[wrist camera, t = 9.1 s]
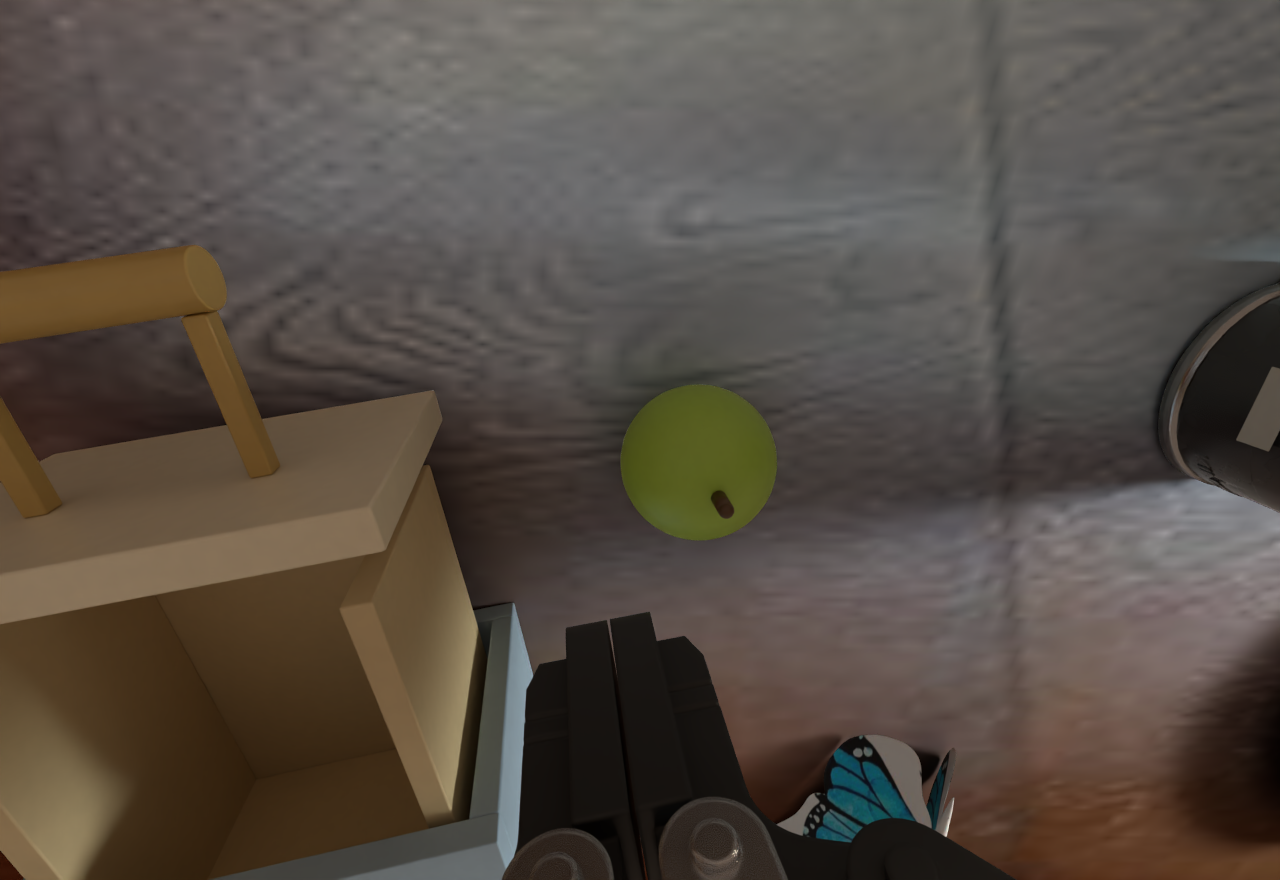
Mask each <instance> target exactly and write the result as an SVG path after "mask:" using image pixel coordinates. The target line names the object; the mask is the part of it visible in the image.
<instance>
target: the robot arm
mask: <svg viewBox="0 0 1280 880" xmlns="http://www.w3.org/2000/svg"><path fill="white" fill-rule="evenodd" d="M1158 433H1159V440H1160V444H1161V447H1162V450H1163V452H1164V454H1165V456H1166V458H1167V459H1168V461H1169V462H1170V463H1171V464H1172V465H1173V466H1174V467H1175V468H1176V469H1177V470H1179V471H1180V472H1182V473H1184V474H1186V475H1188V476H1190V477H1192V478H1195V479H1197V480H1199V481H1202V482H1204V483H1207V484H1210V485H1215V486H1217V487H1219V488H1221V489H1223V490H1225V491H1228V492H1230V493H1233V494H1235V495H1238V496H1241V497H1244V498H1247V499H1249V500H1251V501H1254V502H1256V503H1258V504H1261V505H1263V506H1265V507H1268V508H1270V509H1272V510H1274V511H1277V512H1279V513H1280V282H1279V283H1278V284H1274V285H1271V286H1268V287H1265V288H1262V289H1260V290H1258V291H1255V292H1253V293H1251V294H1249V295H1247V296H1245V297H1244V298H1242V299H1240V300H1239V301H1237V302H1235V303H1234V304H1233V305H1231V306H1230V307H1228V308H1227V309H1225V310H1224V311H1223V312H1222V313H1221V314H1219V315H1218V316H1217V317H1216V318H1215V319H1213V320H1212V321H1211V322H1210V323H1209V324H1208V325H1207V326H1206V327H1205V328H1204V329H1203V330H1202V331H1201V332H1200V333H1199V334H1198V336H1197V337H1196V338H1195V339H1194V340H1193V342H1192V343H1191V344H1190V345H1189V347H1188V348H1187V350H1186V351H1185V352H1184V354H1183V355H1182V357H1181V358H1180V360H1179V362H1178V363H1177V365H1176V367H1175V369H1174V370H1173V372H1172V374H1171V376H1170V379H1169V381H1168V383H1167V385H1166V388H1165V391H1164V394H1163V397H1162V401H1161V405H1160V410H1159V417H1158ZM610 625H611V632H612V640H613V647H614V655H615V662H616V668H615V662H614V657H613V651H612V646H611V640H610V635H609V629H608V624H607V620H604V621H599V622H594V623H588V624H583V625H578V626H573V627H567V628H566V659H564V660H559V661H553V662H548V663H543V664H539V666H538V668H537V670H536V672H535V674H534V676H533V678H532V680H531V682H530V683H529V685H528V687H527V689H526V702H525V722H524V738H523V740H524V746H523V756H522V775H521V793H520V811H519V829H518V841H517V847H516V851H515V854H514V857H513V859H512V860H511V862H510V863H509V865H508V867H507V868H506V870H505V872H504V874H503V877H502V880H646V879H645V871H644V864H643V856H642V850H643V855H644V860H645V865H646V871H647V876H648V880H1016V879H1014V878H1013V877H1011V876H1009V875H1008V874H1006V873H1004V872H1003V871H1001V870H1000V869H998V868H996V867H995V866H993V865H991V864H990V863H988V862H986V861H985V860H983V859H981V858H980V857H978V856H976V855H975V854H973V853H972V852H970V851H968V850H967V849H965V848H963V847H962V846H960V845H958V844H957V843H955V842H953V841H952V840H950V839H949V838H947V837H945V836H944V835H942V834H940V833H939V832H937V831H935V830H933V829H932V828H930V827H928V826H926V825H924V824H921V823H918V822H915V821H912V820H907V819H903V818H885V819H880V820H877V821H873V822H871V823H869V824H867V825H866V826H864V827H863V828H862V829H861V830H859V831H858V833H857V834H856V835H855V837H854V838H853V840H852V842H843V841H835V840H828V839H820V838H812V837H807V836H802V835H798V834H795V833H792V832H790V831H787V830H786V829H784V828H782V827H780V826H778V825H777V824H775V823H774V822H772V821H771V820H769V819H768V818H767V817H766V816H765V815H764V814H763V813H762V812H761V811H760V810H759V809H758V807H757V806H756V805H755V803H754V802H753V800H752V798H751V797H750V795H749V793H748V790H747V788H746V785H745V782H744V779H743V776H742V773H741V770H740V766H739V763H738V760H737V757H736V754H735V751H734V748H733V745H732V742H731V739H730V736H729V733H728V730H727V726H726V723H725V720H724V717H723V714H722V711H721V708H720V706H719V703H718V699H717V696H716V693H715V689H714V686H713V685H712V681H711V677H710V674H709V671H708V668H707V665H706V662H705V659H704V656H703V654H702V653H701V652H700V651H699V650H698V649H697V648H696V647H695V646H694V645H693V644H692V643H691V642H690V641H689V640H688V639H687V638H686V637H685V636H682V637H676V638H671V639H666V640H661V641H657V640H656V636H655V632H654V627H653V623H652V619H651V615H650V612H645V613H640V614H635V615H630V616H624V617H619V618H614V619H610ZM616 670H617V673H616ZM617 678H618V679H617ZM640 839H641V841H640ZM641 844H642V849H641Z"/></svg>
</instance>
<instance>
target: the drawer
mask: <svg viewBox="0 0 1280 880" xmlns="http://www.w3.org/2000/svg"><path fill="white" fill-rule="evenodd" d="M226 298H227V290H226V284H225V280H224V277H223V274H222V272H221V270H220V268H219V266H218V264H217V262H216V261H215V259H214V258H213V257H212V256H211V254H210V253H209V252H208V251H207V250H205V249H204V248H202V247H200V246H197V245H187V246H180V247H173V248H166V249H159V250H152V251H145V252H138V253H131V254H124V255H117V256H110V257H102V258H95V259H88V260H81V261H74V262H67V263H60V264H53V265H46V266H39V267H32V268H25V269H18V270H11V271H4V272H0V344H1V343H8V342H14V341H21V340H27V339H34V338H41V337H47V336H54V335H60V334H67V333H74V332H80V331H87V330H93V329H100V328H107V327H113V326H120V325H126V324H133V323H139V322H146V321H153V320H159V319H166V318H172V317H179V316H184V317H182V318H181V321H182V323H183V325H184V328H185V330H186V332H187V334H188V337H189V339H190V341H191V344H192V346H193V348H194V351H195V353H196V355H197V357H198V360H199V362H200V364H201V367H202V369H203V371H204V374H205V376H206V378H207V380H208V383H209V385H210V387H211V390H212V392H213V394H214V397H215V399H216V401H217V403H218V406H219V408H220V410H221V413H222V415H223V417H224V420H225V422H226V424H227V425H223V426H217V427H212V428H206V429H200V430H194V431H188V432H182V433H176V434H170V435H164V436H158V437H152V438H146V439H140V440H134V441H128V442H122V443H116V444H110V445H104V446H98V447H93V448H87V449H81V450H75V451H69V452H63V453H57V454H53V455H51V456H50V457H48V458H46V459H44V460H42V461H40V462H38V460H37V458H36V456H35V455H34V453H33V451H32V450H31V448H30V446H29V444H28V443H27V441H26V439H25V438H24V436H23V434H22V432H21V431H20V429H19V427H18V426H17V424H16V422H15V420H14V419H13V417H12V415H11V414H10V412H9V410H8V409H7V407H6V405H5V403H4V402H3V400H2V398H1V397H0V481H1V483H0V851H1V852H2V853H3V854H4V855H5V856H6V858H7V859H8V860H9V861H10V862H11V863H12V865H13V866H14V867H15V868H16V869H17V870H18V872H19V873H20V874H21V875H22V876H23V878H24V879H25V880H209V879H214V878H218V877H222V876H227V875H231V874H235V873H240V872H244V871H248V870H253V869H257V868H261V867H266V866H270V865H274V864H279V863H283V862H287V861H291V860H296V859H300V858H304V857H309V856H313V855H317V854H322V853H326V852H330V851H335V850H339V849H343V848H348V847H352V846H356V845H361V844H365V843H369V842H374V841H378V840H382V839H387V838H391V837H395V836H399V835H404V834H408V833H412V832H417V831H421V830H425V829H430V828H434V827H438V826H443V825H447V824H451V823H456V822H460V821H464V820H469V819H470V818H469V817H470V809H471V800H472V791H473V783H474V774H475V766H476V757H477V748H478V740H479V731H480V722H481V714H482V705H483V696H484V688H485V679H486V671H487V662H488V659H487V656H486V652H485V649H484V646H483V642H482V639H481V636H480V632H479V629H478V626H477V622H476V619H475V616H474V612H473V609H472V606H471V602H470V599H469V596H468V592H467V589H466V585H465V582H464V579H463V575H462V572H461V569H460V565H459V562H458V559H457V555H456V552H455V549H454V545H453V542H452V539H451V535H450V532H449V529H448V525H447V522H446V519H445V515H444V512H443V508H442V505H441V502H440V498H439V495H438V492H437V488H436V485H435V482H434V478H433V475H432V472H431V468H430V466H429V465H424V466H423V464H424V461H425V459H426V457H427V454H428V452H429V450H430V448H431V445H432V443H433V441H434V439H435V436H436V434H437V432H438V429H439V427H440V425H441V423H442V416H441V412H440V409H439V405H438V401H437V398H436V394H435V392H434V391H426V392H420V393H414V394H408V395H402V396H396V397H390V398H384V399H378V400H372V401H366V402H360V403H354V404H348V405H342V406H337V407H331V408H325V409H319V410H313V411H307V412H301V413H295V414H289V415H283V416H277V417H271V418H265V419H261V416H260V414H259V411H258V409H257V406H256V404H255V402H254V399H253V397H252V394H251V392H250V389H249V387H248V384H247V382H246V380H245V377H244V375H243V372H242V370H241V367H240V365H239V362H238V360H237V357H236V355H235V353H234V350H233V348H232V345H231V343H230V340H229V338H228V335H227V333H226V331H225V328H224V326H223V323H222V321H221V318H220V316H219V313H218V312H217V311H218V310H220V309H222V308H223V307H224V305H225V303H226ZM186 315H187V316H186Z"/></svg>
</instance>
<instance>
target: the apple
mask: <svg viewBox="0 0 1280 880" xmlns="http://www.w3.org/2000/svg"><path fill="white" fill-rule="evenodd" d="M620 462H621V474H622V480H623V484H624V487H625V490H626V492H627V494H628V496H629V498H630V500H631V502H632V504H633V505H634V507H635V508H636V509H637V511H638V512H639V513H640V514H641V515H642V516H643V517H644V518H645V519H646V520H647V521H648V522H649V523H650V524H652V525H653V526H655V527H656V528H658V529H659V530H661V531H663V532H664V533H667V534H669V535H672V536H675V537H679V538H682V539H687V540H711V539H715V538H720V537H723V536H726V535H729V534H731V533H733V532H735V531H737V530H739V529H740V528H742V527H744V526H745V525H746V524H748V523H749V522H750V521H751V520H752V519H753V518H754V517H755V516H756V515H757V514H758V513H759V512H760V510H761V509H762V508H763V506H764V505H765V503H766V502H767V500H768V498H769V496H770V494H771V492H772V489H773V486H774V482H775V478H776V473H777V455H776V447H775V443H774V440H773V437H772V434H771V432H770V429H769V427H768V425H767V424H766V422H765V420H764V419H763V418H762V416H761V415H760V414H759V412H758V411H757V410H756V409H755V408H754V407H753V406H752V405H751V404H750V403H749V402H747V401H746V400H745V399H743V398H742V397H740V396H739V395H737V394H735V393H733V392H731V391H729V390H726V389H723V388H720V387H716V386H711V385H702V384H696V385H686V386H681V387H677V388H674V389H671V390H668V391H666V392H664V393H662V394H660V395H658V396H657V397H655V398H654V399H652V400H651V401H650V402H649V403H647V404H646V405H645V406H644V407H643V408H642V409H641V410H640V411H639V412H638V414H637V415H636V417H635V418H634V419H633V421H632V422H631V424H630V426H629V428H628V430H627V432H626V435H625V437H624V441H623V445H622V450H621V459H620Z"/></svg>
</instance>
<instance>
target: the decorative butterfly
mask: <svg viewBox="0 0 1280 880" xmlns="http://www.w3.org/2000/svg"><path fill="white" fill-rule="evenodd" d="M955 761H956V750H955V749H954V748H952V749H951V750H950V751H949V752H948V753H947V755H946V757H945V758H944V760H943V763H942V765H941V767H940V769H939V772H938V774H937V776H936V779H935V781H934V784H933V787H932V790H931V793H930V796H929V799H928V803H927V807H926V805H925V803H924V800H923V795H922V772H921V764H920V760H919V758H918V756H917V755H916V753H915V751H914V750H913V749H912V748H910V747H909V746H908V745H907V744H905V743H903V742H901V741H898V740H895V739H892V738H890V737H887V736H881V735H862V736H858V737H854V738H851V739H849V740H847V741H846V742H844V743H843V744H842V745H841V746H840V747H839V748H838V749H837V750H836V752H835V753H834V754H833V756H832V757H831V758H830V760H829V761H828V763H827V766H826V768H825V773H824V789H825V794H822V793H813V794H811V795H810V796H809V797H808V798H807V800H806V801H805V803H804V804H803V806H802V807H801V808H800V809H799V811H798V812H797V813H796V814H795V815H793V816H792V817H790V818H788V819H786V820H785V821H782V822H780V823H778V824H777V825H778V826H780V827H782V828H784V829H786V830H787V831H790V832H792V833H795V834H798V835H802V836H807V837H812V838H820V839H828V840H835V841H843V842H852V840H853V838H854V837H855V835H856V834H857V833H858V831H859V830H861V829H862V828H863V827H864V826H866V825H867V824H869V823H871V822H873V821H877V820H880V819H885V818H903V819H907V820H912V821H915V822H918V823H921V824H924V825H926V826H928V827H930V828H932V829H933V830H935V831H937V832H939V833H940V834H942V835H944V836H945V837H946V836H947V832H948V828H949V824H950V819H951V815H952V809H953V804H954V797H953V798H952V799H951V801H950V802H949V804H948V806H947V807H946V809H945V811H944V813H943V808H944V803H945V800H946V796H947V793H948V790H949V786H950V782H951V779H952V775H953V771H954V766H955ZM942 813H943V815H942Z"/></svg>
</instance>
